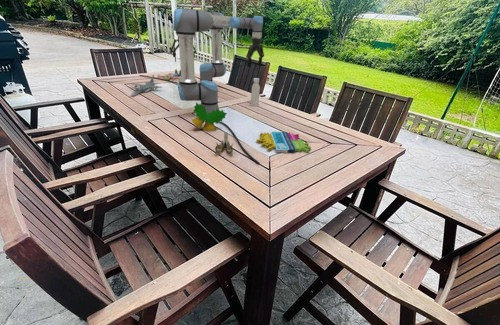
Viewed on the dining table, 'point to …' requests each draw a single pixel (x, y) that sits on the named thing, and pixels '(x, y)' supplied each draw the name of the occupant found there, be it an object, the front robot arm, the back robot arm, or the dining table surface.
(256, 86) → the bottle
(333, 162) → the dining table surface
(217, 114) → the ornament
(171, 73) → the toy
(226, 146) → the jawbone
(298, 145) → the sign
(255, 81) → the cap
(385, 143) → the dining table surface
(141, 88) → the airplane
